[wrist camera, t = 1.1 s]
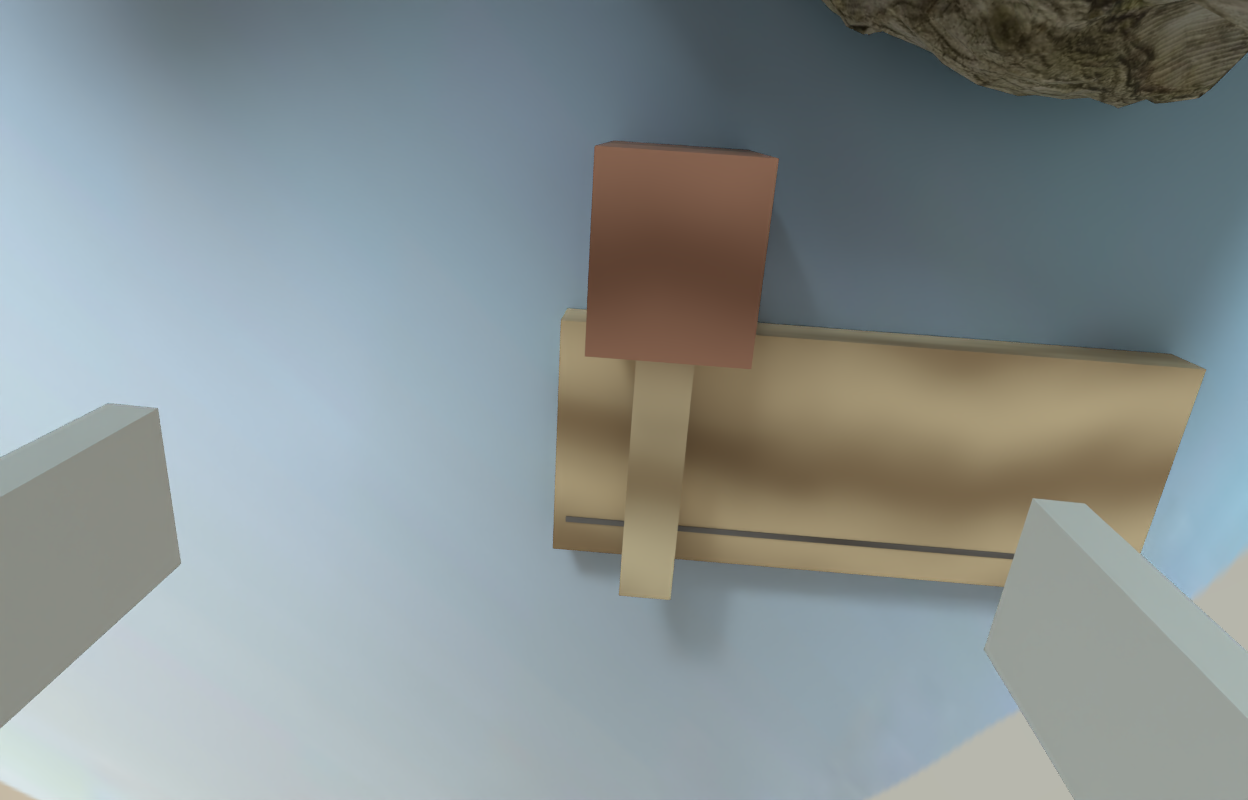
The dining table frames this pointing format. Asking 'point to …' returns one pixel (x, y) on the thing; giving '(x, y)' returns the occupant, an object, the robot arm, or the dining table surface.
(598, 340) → the brown block with handle
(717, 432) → the board
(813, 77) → the dining table surface
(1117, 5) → the hollow geode rock
